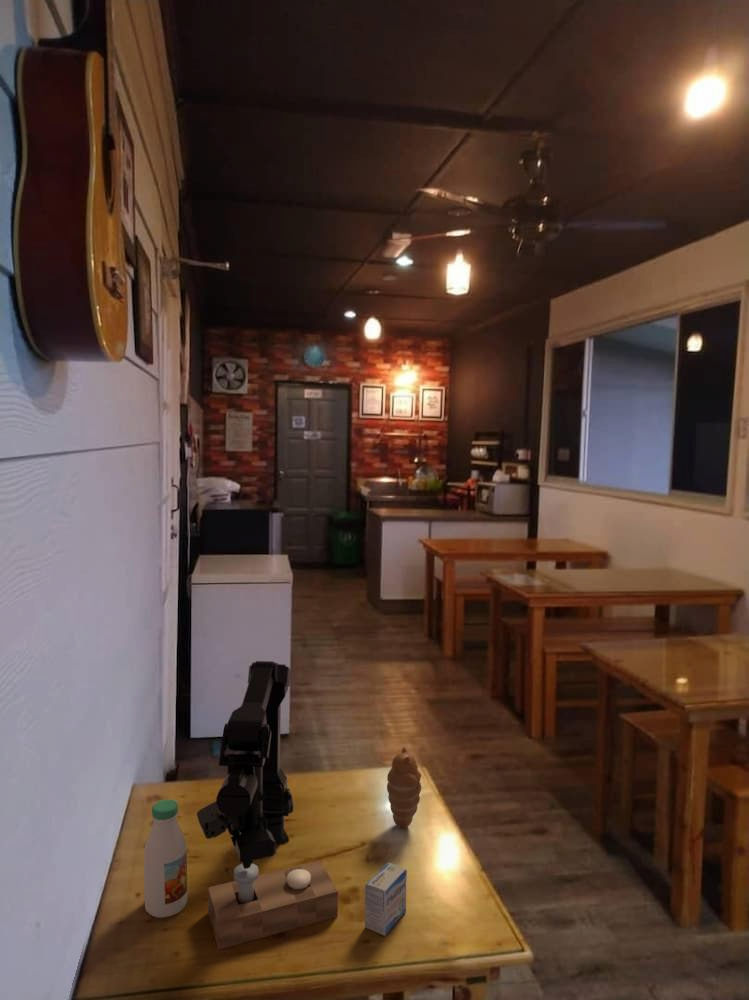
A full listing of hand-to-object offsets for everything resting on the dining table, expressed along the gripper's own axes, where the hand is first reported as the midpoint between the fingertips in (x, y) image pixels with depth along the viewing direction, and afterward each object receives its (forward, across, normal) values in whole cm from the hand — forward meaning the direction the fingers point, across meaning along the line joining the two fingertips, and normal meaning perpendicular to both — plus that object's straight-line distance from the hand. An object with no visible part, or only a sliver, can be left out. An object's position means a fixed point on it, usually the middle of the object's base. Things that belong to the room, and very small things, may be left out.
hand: (246, 867), depth 126 cm
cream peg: (+10, 0, +10) cm, 14 cm away
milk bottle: (+11, -10, -13) cm, 20 cm away
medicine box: (+11, +9, +24) cm, 28 cm away
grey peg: (+6, 0, 0) cm, 6 cm away
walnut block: (+11, 0, +5) cm, 12 cm away
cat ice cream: (+11, -17, +40) cm, 45 cm away
